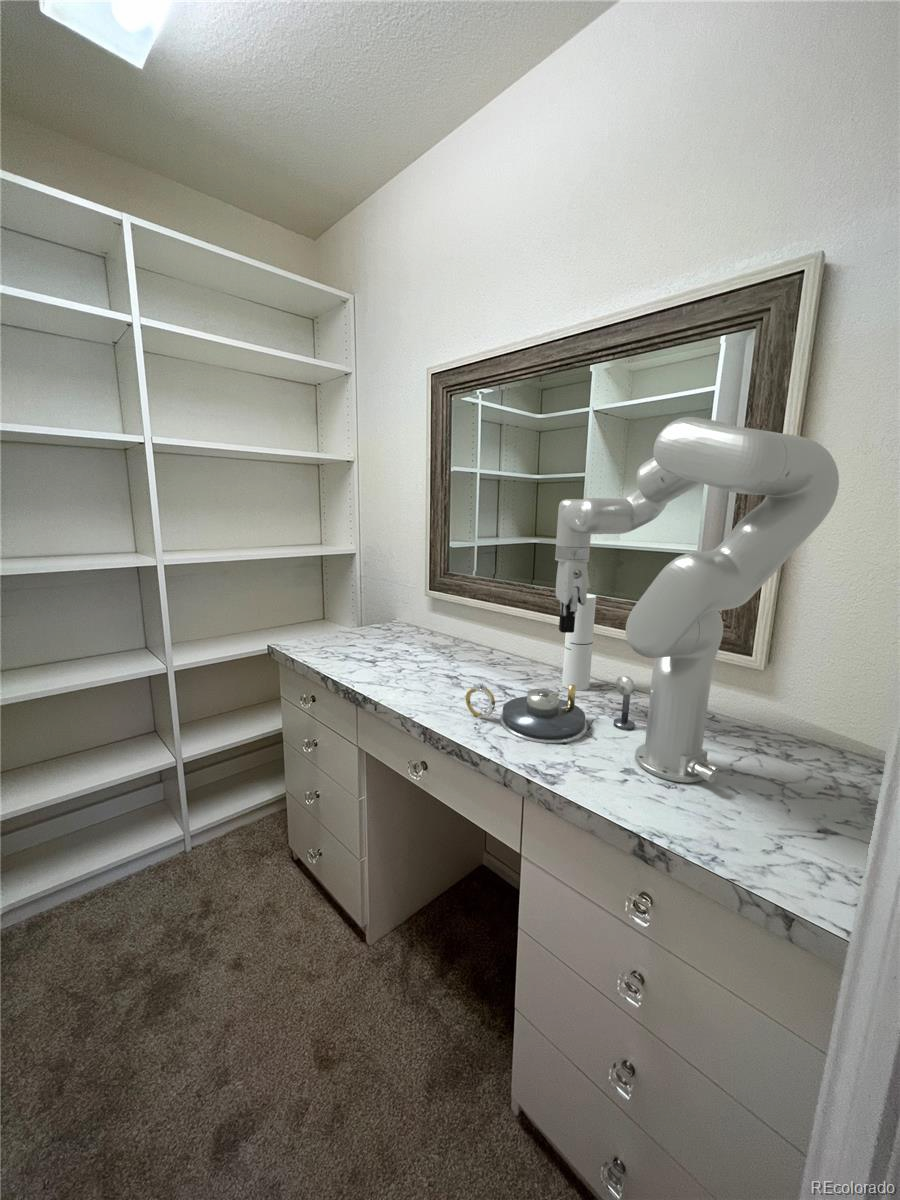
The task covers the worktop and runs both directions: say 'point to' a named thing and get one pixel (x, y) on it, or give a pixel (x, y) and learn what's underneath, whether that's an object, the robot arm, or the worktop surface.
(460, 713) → the worktop surface
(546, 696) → the cover
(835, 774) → the worktop surface
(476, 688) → the bracelet
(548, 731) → the turntable
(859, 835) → the worktop surface
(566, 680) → the cylindrical container
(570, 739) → the base
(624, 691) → the ball topped stand
